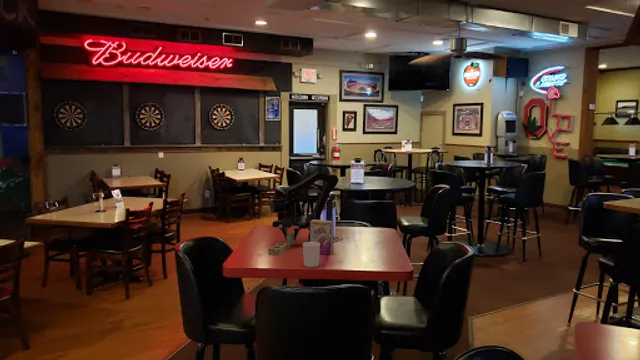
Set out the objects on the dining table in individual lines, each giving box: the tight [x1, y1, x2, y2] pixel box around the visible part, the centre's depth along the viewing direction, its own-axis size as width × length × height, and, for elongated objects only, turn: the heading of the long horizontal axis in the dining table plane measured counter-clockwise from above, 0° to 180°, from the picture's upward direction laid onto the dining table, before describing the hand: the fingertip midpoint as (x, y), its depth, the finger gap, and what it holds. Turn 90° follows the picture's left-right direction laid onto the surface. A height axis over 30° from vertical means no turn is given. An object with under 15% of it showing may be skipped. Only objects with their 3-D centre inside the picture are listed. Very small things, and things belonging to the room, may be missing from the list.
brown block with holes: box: [267, 242, 290, 256], centre depth 244 cm, size 6×14×3 cm, turn 165°
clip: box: [286, 232, 295, 248], centre depth 257 cm, size 2×8×6 cm, turn 165°
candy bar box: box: [309, 219, 335, 256], centre depth 241 cm, size 11×5×16 cm, turn 71°
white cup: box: [302, 241, 321, 268], centre depth 220 cm, size 8×8×10 cm
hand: (290, 240), depth 257 cm, fingers open, 4 cm apart
